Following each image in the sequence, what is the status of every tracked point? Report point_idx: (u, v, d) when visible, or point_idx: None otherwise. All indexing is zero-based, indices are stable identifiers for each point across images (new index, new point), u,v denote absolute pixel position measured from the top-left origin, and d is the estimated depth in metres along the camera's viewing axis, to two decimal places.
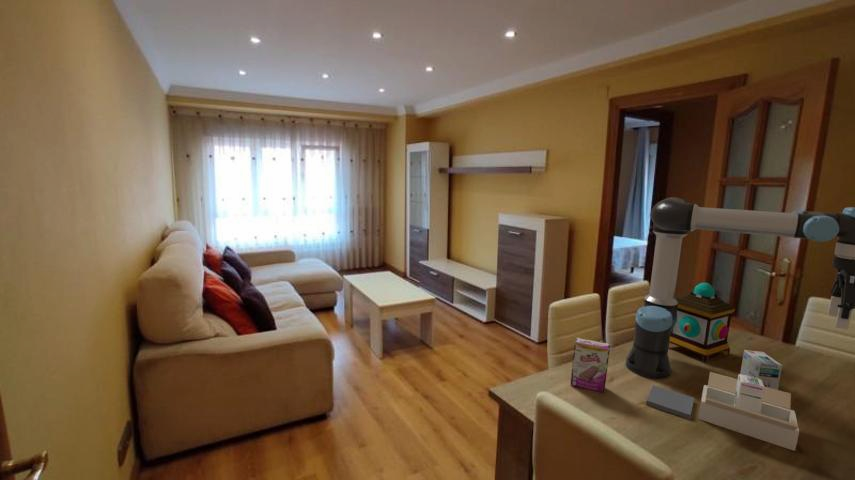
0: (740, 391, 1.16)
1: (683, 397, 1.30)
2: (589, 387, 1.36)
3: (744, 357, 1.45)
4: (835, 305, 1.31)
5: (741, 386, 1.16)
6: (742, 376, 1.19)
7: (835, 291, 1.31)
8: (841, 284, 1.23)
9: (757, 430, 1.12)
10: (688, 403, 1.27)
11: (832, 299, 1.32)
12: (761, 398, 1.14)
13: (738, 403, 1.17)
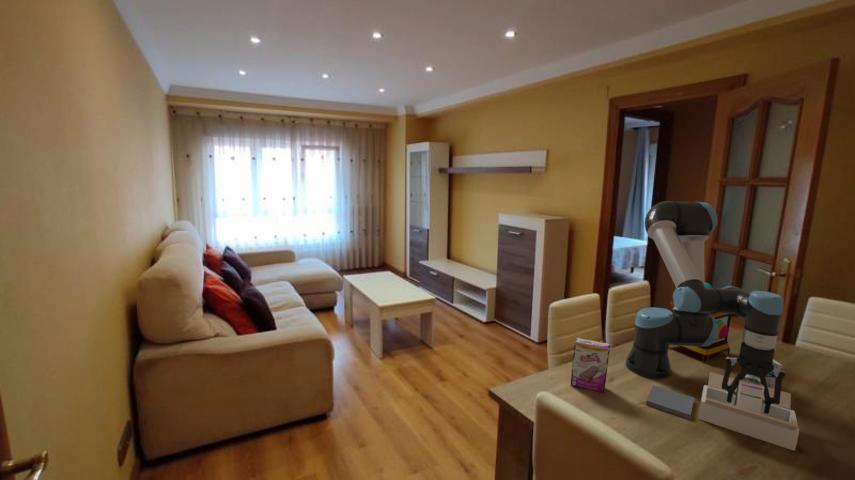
0: (740, 391, 1.16)
1: (683, 397, 1.30)
2: (589, 387, 1.36)
3: None
4: None
5: (741, 386, 1.16)
6: None
7: None
8: (741, 368, 1.19)
9: (757, 430, 1.12)
10: (688, 403, 1.27)
11: None
12: (761, 398, 1.14)
13: (738, 403, 1.17)
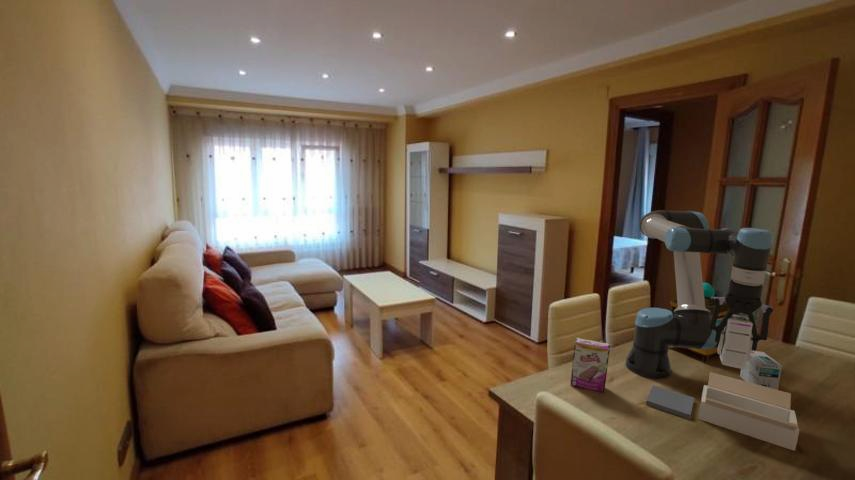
0: (728, 329, 1.16)
1: (683, 397, 1.30)
2: (589, 387, 1.36)
3: None
4: None
5: (730, 324, 1.15)
6: None
7: None
8: (729, 307, 1.19)
9: (757, 430, 1.12)
10: (688, 403, 1.27)
11: None
12: (749, 335, 1.13)
13: (726, 341, 1.17)
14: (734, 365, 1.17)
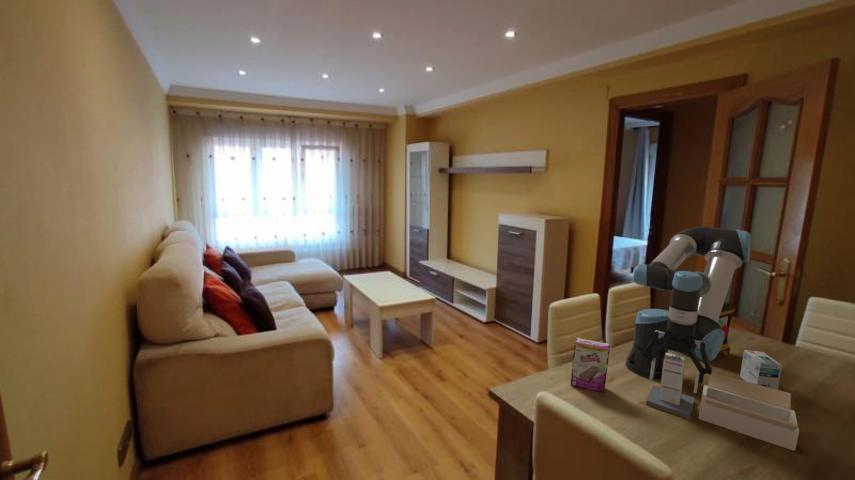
0: (664, 367, 1.26)
1: (683, 397, 1.30)
2: (589, 387, 1.36)
3: (744, 357, 1.45)
4: None
5: (664, 363, 1.26)
6: (668, 354, 1.29)
7: None
8: (666, 341, 1.29)
9: (757, 430, 1.12)
10: (688, 403, 1.27)
11: None
12: (681, 374, 1.24)
13: (662, 379, 1.27)
14: (670, 401, 1.26)
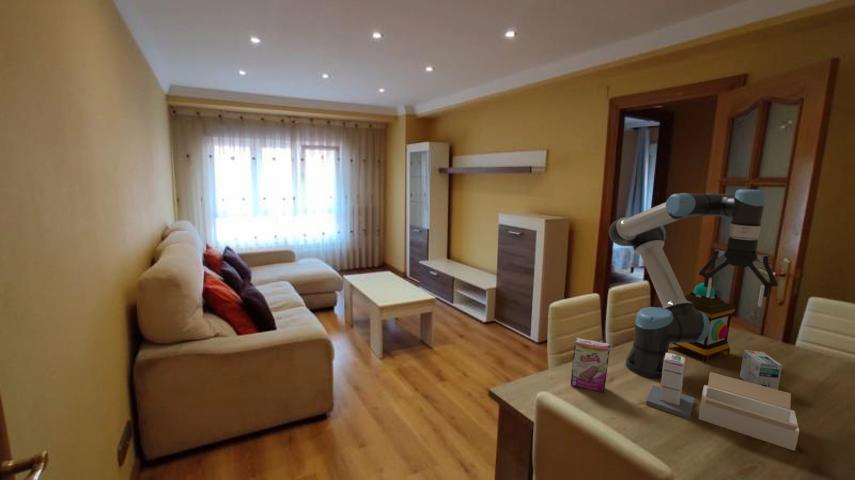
0: (664, 367, 1.26)
1: (683, 397, 1.30)
2: (589, 387, 1.36)
3: (744, 357, 1.45)
4: None
5: (664, 363, 1.26)
6: (668, 354, 1.29)
7: None
8: (725, 260, 1.32)
9: (757, 430, 1.12)
10: (688, 403, 1.27)
11: None
12: (681, 374, 1.24)
13: (662, 379, 1.27)
14: (670, 401, 1.26)
